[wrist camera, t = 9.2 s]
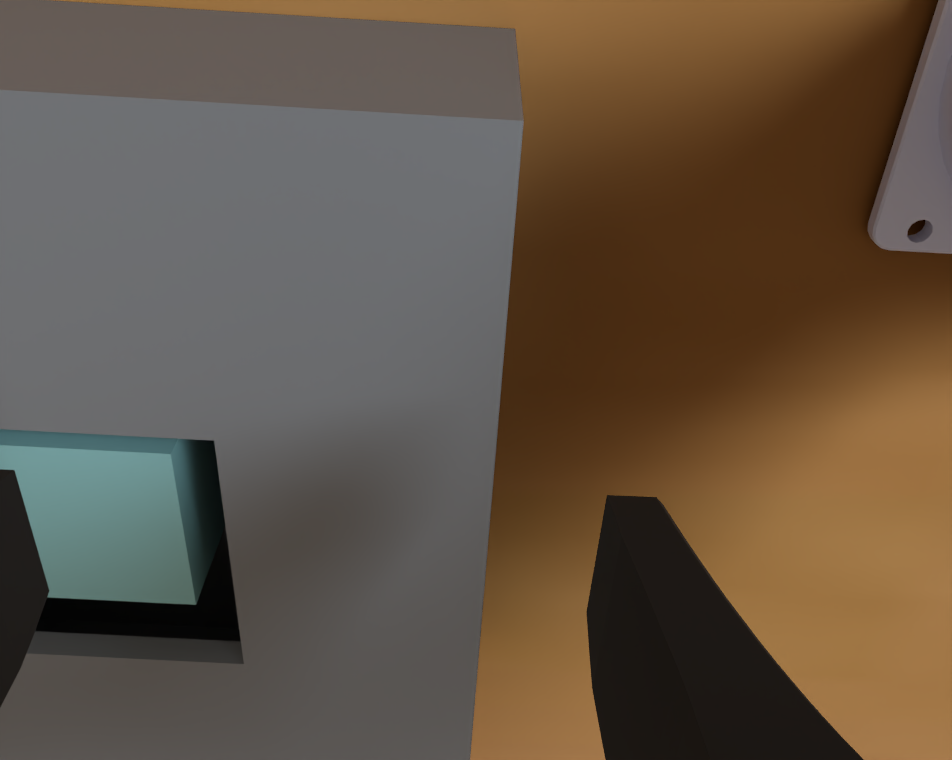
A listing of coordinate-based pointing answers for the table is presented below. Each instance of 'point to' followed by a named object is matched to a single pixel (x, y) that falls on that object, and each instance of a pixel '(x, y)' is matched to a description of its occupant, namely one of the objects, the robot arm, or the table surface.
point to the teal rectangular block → (119, 512)
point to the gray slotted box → (265, 362)
